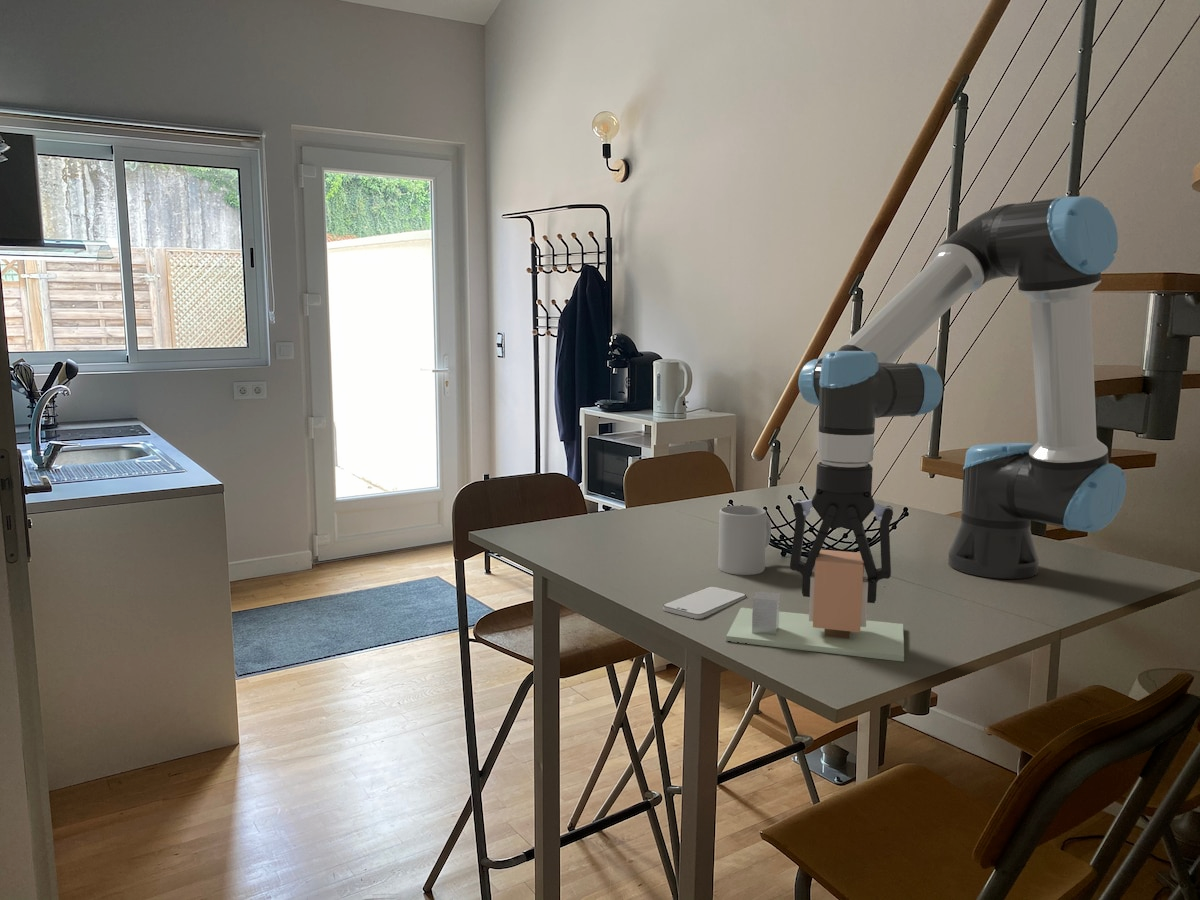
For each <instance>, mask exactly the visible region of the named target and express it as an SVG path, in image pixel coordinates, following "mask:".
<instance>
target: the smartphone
mask: <svg viewBox="0 0 1200 900" xmlns="http://www.w3.org/2000/svg"><path fill="white" fill-rule="evenodd" d="M746 597H747V595H746V593H743V592H739V591H736V590H735V591H734V590H731V589H727V588H721V587H716V586H708V587H705V588H702V589H700V590H697V591H694V592H692V593H689V594H686V595H684V596H682V597H679V598H676V599H674V600H672V601H669V602H666V603H664V604H662V611H664V612H667V613H672V614H674V615H675V614H676V615H678V616H683V617H686V618H691V619H693V618H694V619H695V620H701V619H705V618H707V617H709V616H710V615H712V614H714V613H717V612H719V611H721V610H723V609H725V608H727V607H729V606H731V605H733V604H735V603H737V602H739V601H741V600H743V599H745V598H746ZM704 617H705V618H704Z"/></svg>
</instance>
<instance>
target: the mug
mask: <svg viewBox="0 0 1200 900" xmlns="http://www.w3.org/2000/svg"><path fill="white" fill-rule="evenodd" d="M718 513H719V516H718V517H719V518H718V519H719V521H718V555H717V556H718V557H717V561H718V562H717V567H718V569H719V570H720V571H721V572H722V573H725V574H730V575H735V576H736V575H737V576H753V575H754V576H755V575H758V574H762V573H764V571H765V570H766V548H768V546H769V545H770V541H771V534H772V524H771V519H770V517H769V516H768V515H767V511H766V509H764V508H762V507H757V506H753V505H728V506H723V507H721V508H720V509H719V512H718Z"/></svg>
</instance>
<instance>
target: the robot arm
mask: <svg viewBox="0 0 1200 900" xmlns="http://www.w3.org/2000/svg"><path fill="white" fill-rule="evenodd" d="M1115 221H1116V220H1115V219H1114V216H1113V214H1112V213H1111V211H1110V209H1109V208H1108V207H1107V206H1105V204H1103V202H1102V201H1101V200H1099V199H1097V198H1094V197H1092V196H1086V195H1085V196H1069V195H1068V196H1067V195H1066V196H1060V197H1053V198H1047V199H1041V200H1034V201H1026V202H1020V203H1007V204H1002V205H1000V206H996V207H993V208H991V209H989V210H987V211H984V212H982V213H980V215H978V216H975V217H974V218H973V219H971V220H970V221H968V222H967V223H965V224H964V225H963V226H961V227H960V228H958V229H957V230H955V232H953V233H952V234H950V236H948V237H947V238H946V239H945V240H944V241H943V242H942V243H941V244H940V245H939V246H938V247H936V249H934V251H933V252H932V255H931V259H930V263H929V264H928V265H926V266H925V267H924V268H923V269H921V271H920V272H919V273H918V274H917V275H915V277H914V278H913V279H911V281H909V282H908V284H906V285H905V286H904V287H903V288H902V289H901V290H900V291H899V292H898V293H897V294H896V295H895V296H893V298H891V299H890V301H888V302H887V303H885V305H884V306H883V307H882V308H881V309H880V310H879V311H877V313H875V315H874V316H872V318H870V319H869V320H868V321H867V322H866V323H865V324H864V325H863V326H862V327H861V328H860V329H859V330H858V331H857V332H856V333H855V334H853V335H852V336H851V337H850V338H849V339H848V340H847V341H846V342H845V343H844V344H843V345H842V346H841V347H840V348H838V349H837V350H832V351H831V350H830V351H827V352H825V354H824V355H823V356H822V357H820V358H814V359H812V360H809V361H808V362H806V363H805V364H804V365H803V366H802V368H801V370H800V372H799V375H798V382H797V383H798V389H799V392H800V395H801V396H802V398H803V400H804V401H806V402H807V403H809V404H811V405H814V406H818V430H817V448H816V449H817V451H816V452H817V454H816V455H817V459H818V460H819V461H820V462H819V461H818V463H817V464H816V479H815V492H814V493H815V494H814V495H813V496H812V498H810V499H807V500H802V499H797V500H795V502H794V503H793V506H792V508H793V514H794V517H795V522H794V523H795V524H794V533H793V539H792V548H791V555H790V562H789V563H790V564H789V568H790V570H792V571H796V572H798V573H800V574H801V576H802V582H801V583H802V584H801V587H802V588H801V593H802V596H803V597H804V598H805V597H806V598H809V606H808V607H809V608H808V614H809V621H812V622H813V610H814V585H815V571H813V569H814V568H815V561H816V557H818V555H819V553H820V550H822V548H823V545H824V543H825V540H826V539H827V538H826V537H827V536H828V533H829V531H830V529H839V528H843V529H844V530H845V529H846V530H852V532H853V534H854V535H853V536H854V537H855V540H856V543H857V547H858V550H859V553H860V554H861V557H862V560H863V561H864V571H865V573H866V576H864V577H863V586H862V607H861V627H866V620H868V619H867V618H868V617H867V616H868V603H869V604H875V603H876V601H877V588H878V586H877V585H878V582H879V581H880V580H883V579H885V580H886V579H890V578H891V575H892V567H891V544H890V542H891V539H890V524H891V521H892V518H893V515H894V509H893V506H891V505H886V506H884V505H882V504H878V503H876V502H875V500H874V497H873V496H872V491H873V490H872V489H873V486H872V485H873V469H874V468H873V466H872V465H871V464H870V463H871V462H873V460H874V448H875V446H874V443H875V427H876V419H880V418H890V417H891V418H892V417H893V418H894V417H912V418H913V417H916V416H919V415H925V414H928V413H931V412H932V411H934V410H935V409H937V407H938V406H939V404H940V402H941V400H942V397H943V391H944V390H943V387H944V385H943V381H942V378H941V376H940V375H941V374H939V372H938V370H937V369H936V368H934V367H933V366H931V365H930V364H926V363H917V362H907V363H895V362H896V361H897V360H898V359H899V358H900V357H902V355H903V354H904V353H905V352H906V351H907V350H909V348H910V347H911V346H912V345H914V343H915V342H916V341H917V340H919V339H920V337H922V336H923V335H924V333H926V332H927V331H928V330H929V329H930V328H931V327H932V326H933V325H934V324H935V323H936V322H937V321H938V320H939V319H940V318H942V316H943V315H945V314H946V312H948V310H949V309H950V308H951V307H952V306H954V305H955V304H956V303H957V302H959V301H958V300H960V299H961V298H962V297H963V296H964V295H965V294H972V293H975V292H977V291H978V290H979V289H980V288H981V287H982V286H983V285H985V283H987V282H989V281H993V280H996V279H999V278H1004V277H1009V278H1010V277H1016V278H1017V286H1018V287H1017V288H1018V292H1019V293H1021V295H1023V296H1024V297H1025V298H1027V299H1028V300H1029V310H1030V325H1031V341H1032V342H1031V343H1032V345H1031V346H1032V358H1033V359H1032V360H1033V376H1034V377H1033V379H1034V380H1033V381H1034V391H1035V392H1034V393H1035V395H1034V396H1035V409H1036V410H1035V411H1036V428H1037V441H1036V442H1035V443H1031V442H1002V443H987V444H986V443H984V444H983V443H982V444H976V445H973V446H971V447H969V448H968V449H967V450H966V452H965V459H964V465H963V467H962V471H963V474H962V475H963V476H962V477H963V478H962V479H963V480H962V492H961V493H962V496H961V497H962V499H961V515H960V524H959V527H958V528H957V531H956V534H955V536H954V539H953V542H952V543H951V545H950V549H949V551H948V559H947V560H948V565H949V566H950V567H951V568H953V569H955V570H957V571H959V572H962V573H964V574H969V575H974V576H976V577H977V576H978V577H984V578H991V579H992V578H993V579H1002V580H1004V579H1006V580H1008V579H1010V580H1012V579H1015V580H1016V579H1018V580H1019V579H1027V578H1028V579H1029V578H1031V577H1034V575H1035V576H1037V575H1038V573H1039V557H1038V553H1037V549H1036V546H1035V543H1034V538H1033V535H1032V531H1031V527H1032V526H1031V524H1032V523H1031V521H1032V522H1038V523H1041V524H1046V525H1049V526H1050V525H1051V526H1055V527H1057V528H1063V529H1066V530H1068V531H1080V532H1085V533H1095V532H1098V531H1100V530H1102V529H1104V528H1106V527H1107V526H1108V525H1110V523H1111V522H1112V521H1114V519H1115V518H1116V517H1117V514H1118V513H1119V511H1120V510H1121V508H1122V505H1123V503H1124V500H1125V497H1126V496H1125V495H1126V493H1127V478H1126V477H1127V476H1126V474H1125V472H1124V471H1123V469H1122V468H1121V467H1120V466H1118V465H1116V464H1115V463H1109V449H1108V446H1107V445H1105V444H1104V443H1103V442H1101V441H1100V440H1099V439H1098V437H1097V435H1098V434H1097V415H1096V414H1097V413H1096V411H1097V410H1096V392H1095V365H1094V348H1093V347H1094V346H1093V345H1094V344H1093V342H1094V341H1093V325H1092V324H1093V323H1092V322H1093V321H1092V298H1091V297H1092V296H1091V294H1092V292H1093V291H1094V290H1095V288H1096V287H1097V286H1099V284H1101V282H1102V272H1105V271H1106V270H1107V269H1109V267H1111V265H1112V264H1113V262H1114V260H1115V258H1116V257H1115V254H1117V251H1118V244H1119V235H1118V229H1117V225H1116V222H1115ZM812 508H813V509H814V510H815V511H816V513H817V515H818V516H819V517H820V519H821V521H822V522H821V524H820V527H819V529H818V531H817V534H816V536H815V539H814V542H813V544H812V546H811V548H810V551H809V553H808V556H807V559H806V561H805V562H804V561H802V560H801V559H802V551H803V542H804V535H805V530H806V529H805V528H806V521H807V520H806V518H807V517H808V515H809V514H810V512H811V509H812ZM872 512H873V513H874V514H875V519H876V520H877V521H878V522H879V523H880V524H879V538H880V540H879V541H880V542H879V543H880V562H881V563H880V564H881V567H880V568H877V567H876V563H875V561H874V558H873V554H872V551H871V548H870V544H869V541H868V538H867V534H866V531H865V526H864V524H863V522H864V521H865V519H866V518H867V517H868V516H870V514H871V513H872Z"/></svg>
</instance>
